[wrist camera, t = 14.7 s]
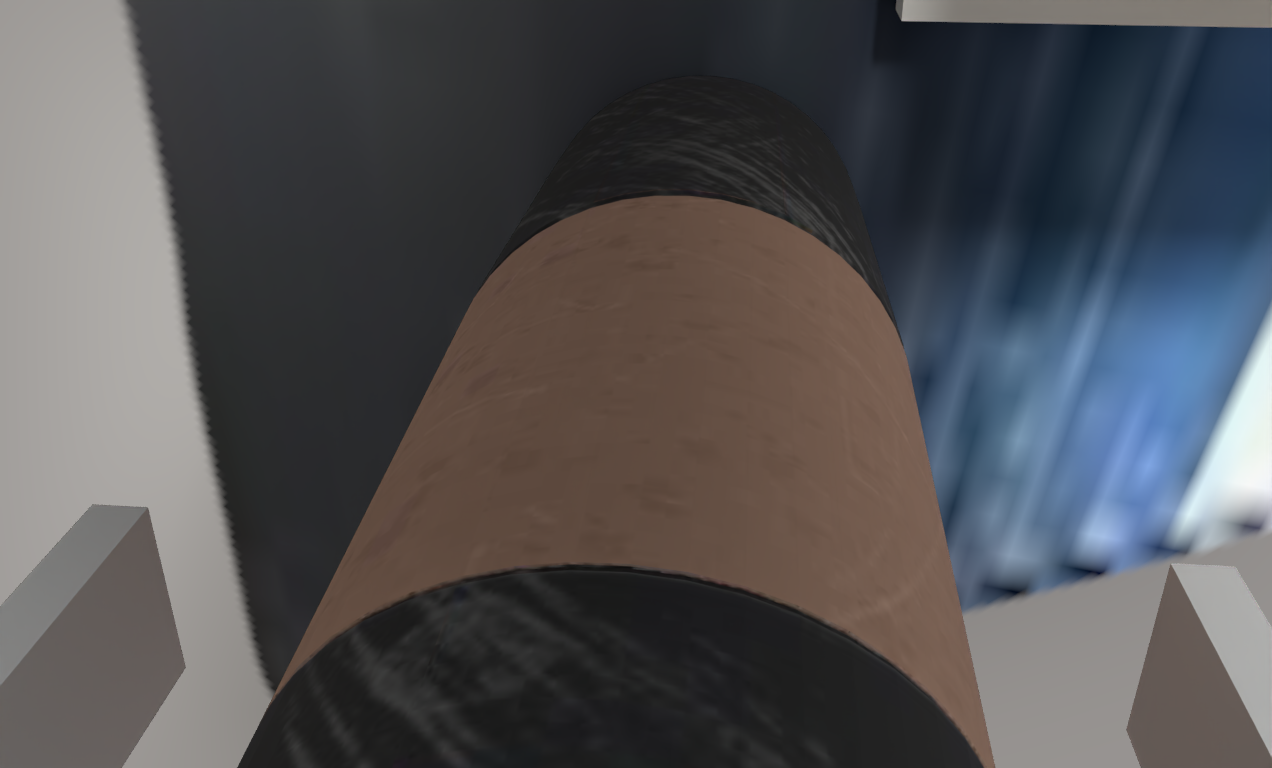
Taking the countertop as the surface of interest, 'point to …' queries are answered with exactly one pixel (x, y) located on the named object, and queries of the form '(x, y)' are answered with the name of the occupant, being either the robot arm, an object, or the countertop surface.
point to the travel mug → (655, 488)
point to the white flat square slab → (1093, 12)
